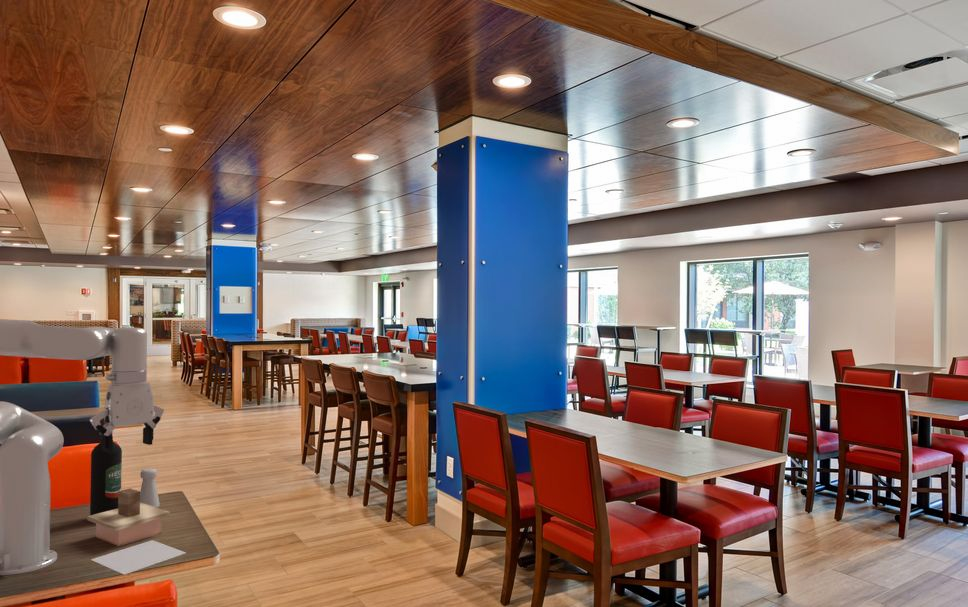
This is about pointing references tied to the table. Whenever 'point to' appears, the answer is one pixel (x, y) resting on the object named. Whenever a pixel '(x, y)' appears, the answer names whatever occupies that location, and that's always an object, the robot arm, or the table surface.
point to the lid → (128, 512)
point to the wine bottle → (105, 478)
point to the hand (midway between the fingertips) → (128, 447)
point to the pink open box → (129, 532)
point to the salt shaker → (149, 488)
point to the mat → (138, 557)
